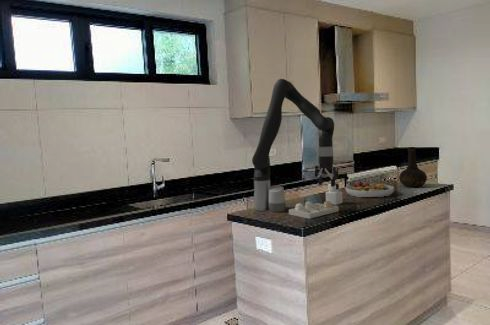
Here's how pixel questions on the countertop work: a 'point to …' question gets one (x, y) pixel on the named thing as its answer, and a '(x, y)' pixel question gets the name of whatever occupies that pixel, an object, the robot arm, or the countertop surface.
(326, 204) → the tan egg
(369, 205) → the countertop surface
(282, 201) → the smart speaker
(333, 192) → the medicine bottle
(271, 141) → the robot arm
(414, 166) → the dark brown vase
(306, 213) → the egg carton
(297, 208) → the white egg near
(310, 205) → the white egg middle
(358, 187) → the bowl
